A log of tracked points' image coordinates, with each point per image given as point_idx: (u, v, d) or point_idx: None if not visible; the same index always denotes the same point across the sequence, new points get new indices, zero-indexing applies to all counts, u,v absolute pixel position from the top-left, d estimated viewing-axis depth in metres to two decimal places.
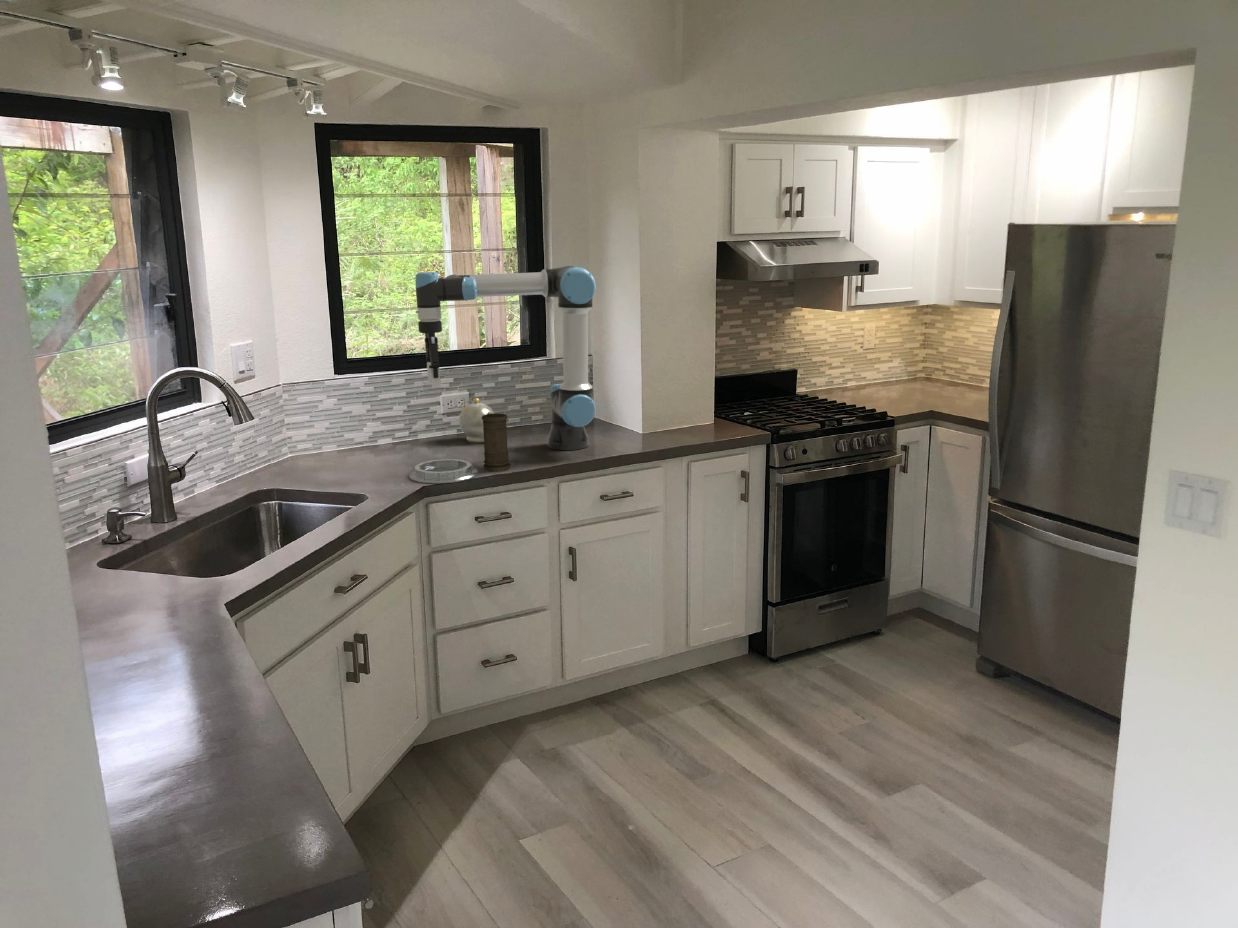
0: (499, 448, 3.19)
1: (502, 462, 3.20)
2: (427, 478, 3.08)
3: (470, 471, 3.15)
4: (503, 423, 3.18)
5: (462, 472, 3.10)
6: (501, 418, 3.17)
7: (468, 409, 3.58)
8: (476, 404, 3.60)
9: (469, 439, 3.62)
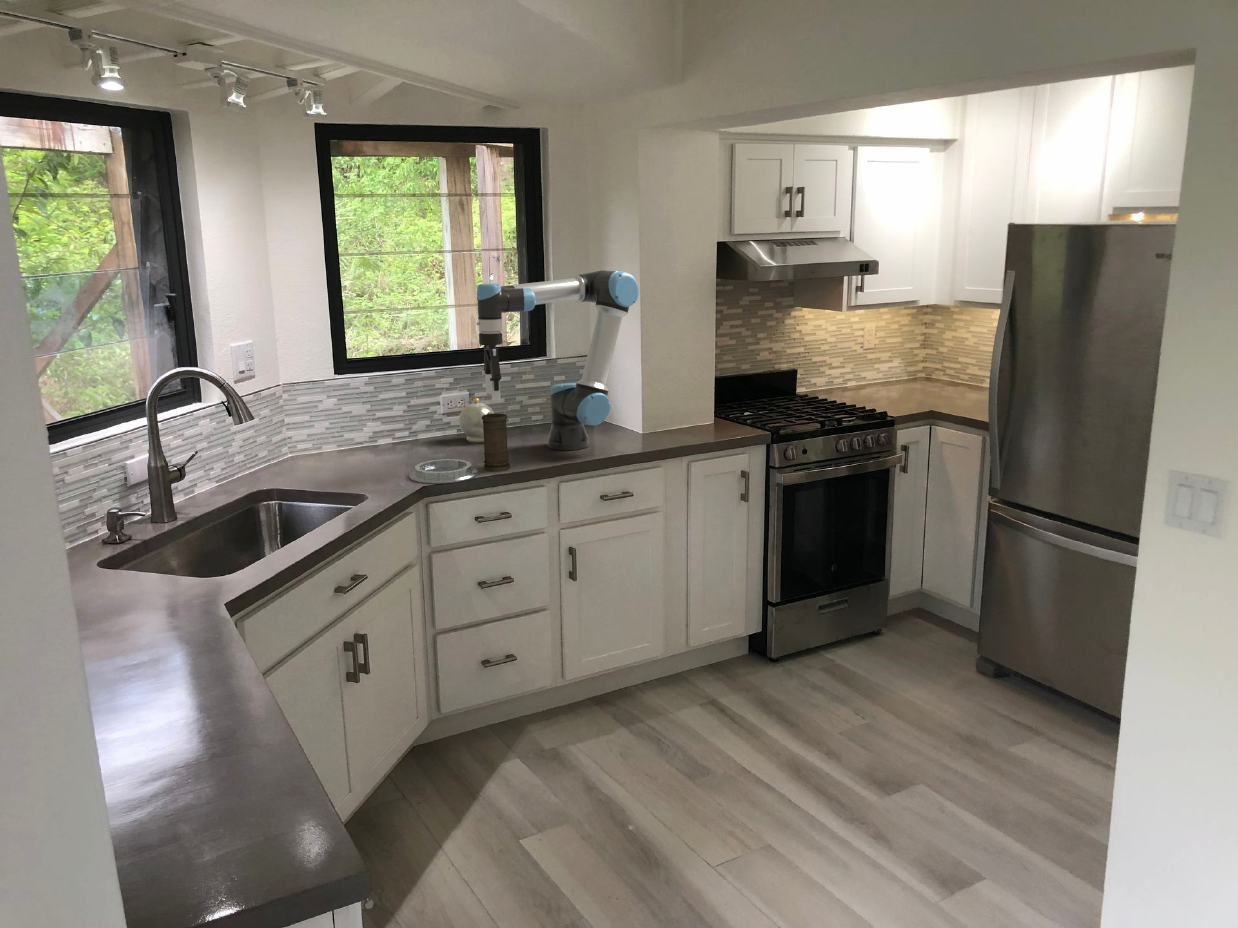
0: (499, 448, 3.19)
1: (502, 462, 3.20)
2: (427, 478, 3.08)
3: (470, 471, 3.15)
4: (503, 423, 3.18)
5: (462, 472, 3.10)
6: (501, 418, 3.17)
7: (468, 409, 3.58)
8: (476, 404, 3.60)
9: (469, 439, 3.62)
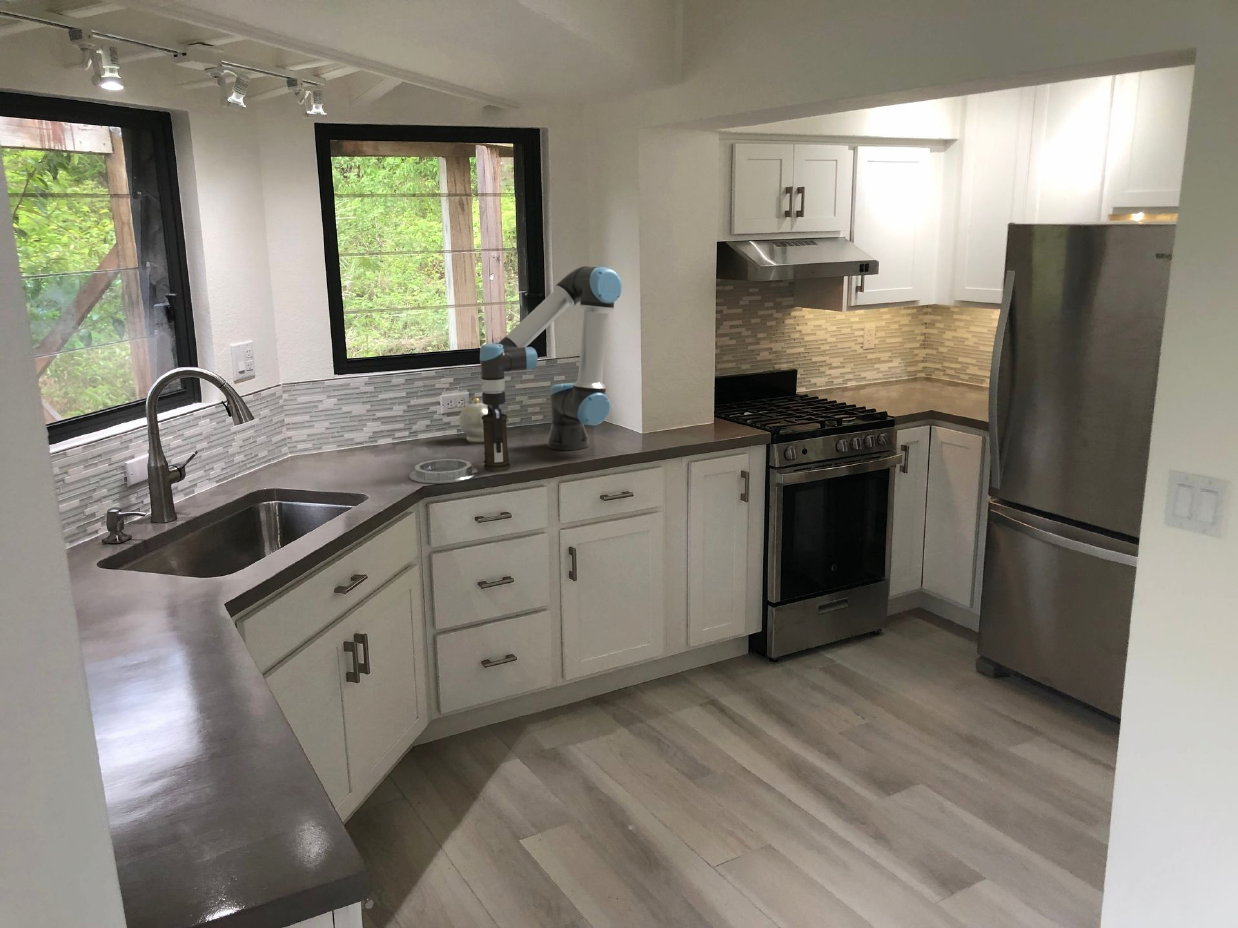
0: None
1: (502, 462, 3.20)
2: (427, 478, 3.08)
3: (470, 471, 3.15)
4: (503, 423, 3.18)
5: (462, 472, 3.10)
6: None
7: (468, 409, 3.58)
8: (476, 404, 3.60)
9: (469, 439, 3.62)
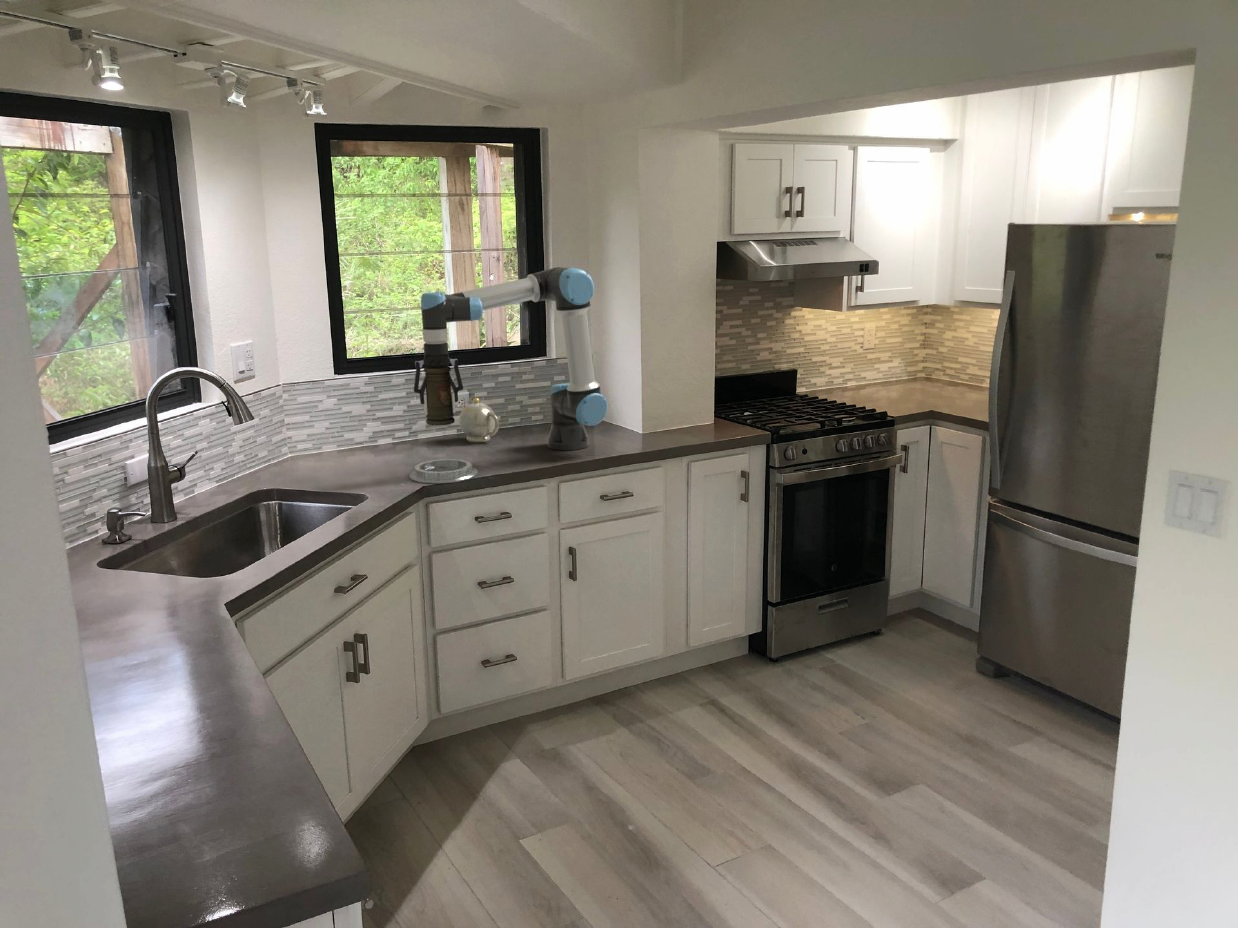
0: None
1: (427, 416, 3.09)
2: (427, 478, 3.08)
3: (470, 471, 3.15)
4: (428, 376, 3.05)
5: (462, 472, 3.10)
6: (425, 370, 3.05)
7: (468, 409, 3.58)
8: (476, 404, 3.60)
9: (469, 439, 3.62)
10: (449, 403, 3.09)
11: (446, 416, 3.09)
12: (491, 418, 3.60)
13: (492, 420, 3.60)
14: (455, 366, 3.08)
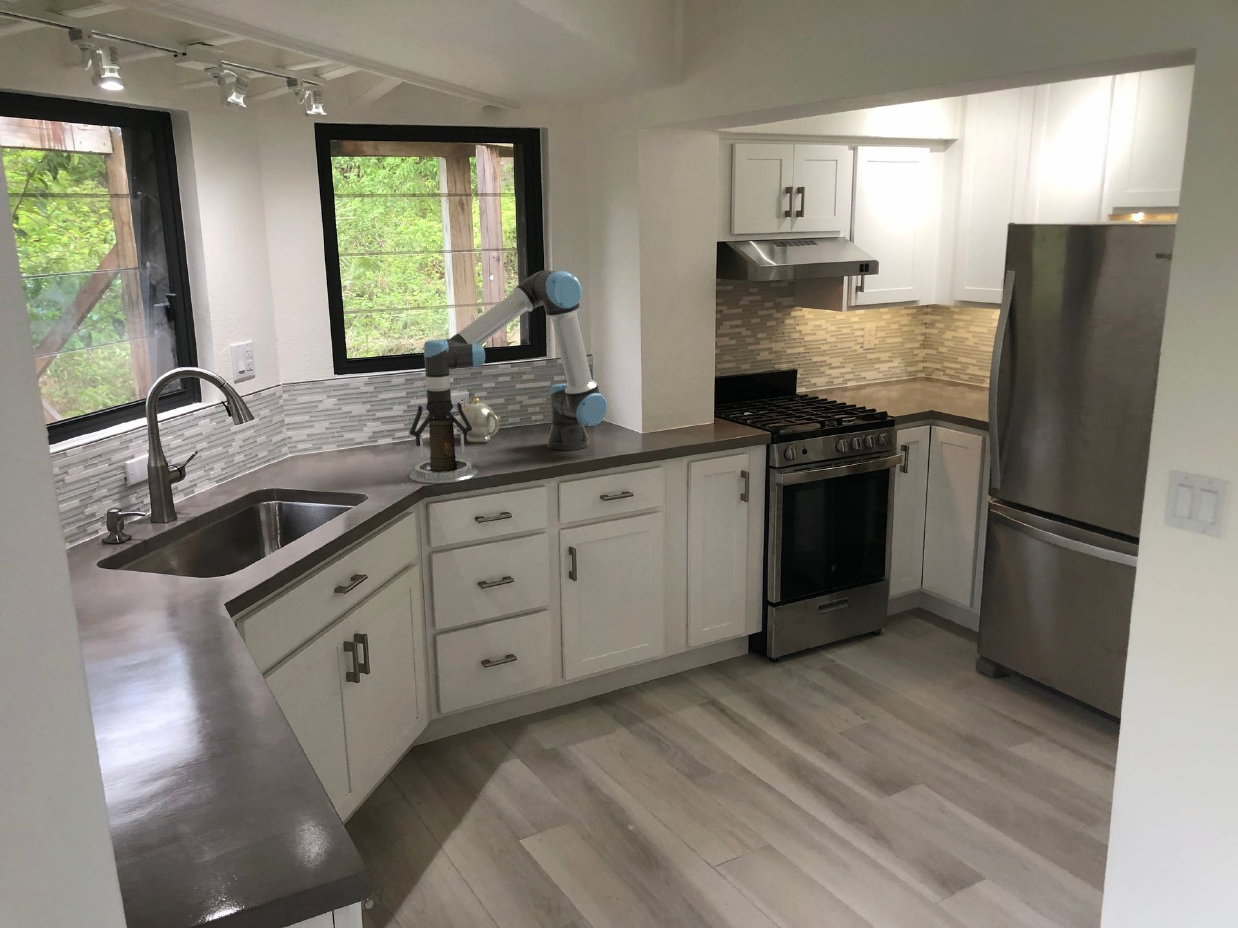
0: (430, 451, 3.13)
1: (431, 466, 3.13)
2: (427, 478, 3.08)
3: (470, 471, 3.15)
4: (432, 428, 3.09)
5: (462, 472, 3.10)
6: (429, 422, 3.09)
7: (468, 409, 3.58)
8: (476, 404, 3.60)
9: (469, 439, 3.62)
10: (452, 454, 3.13)
11: (449, 467, 3.13)
12: (491, 418, 3.59)
13: (492, 420, 3.60)
14: (459, 410, 3.12)
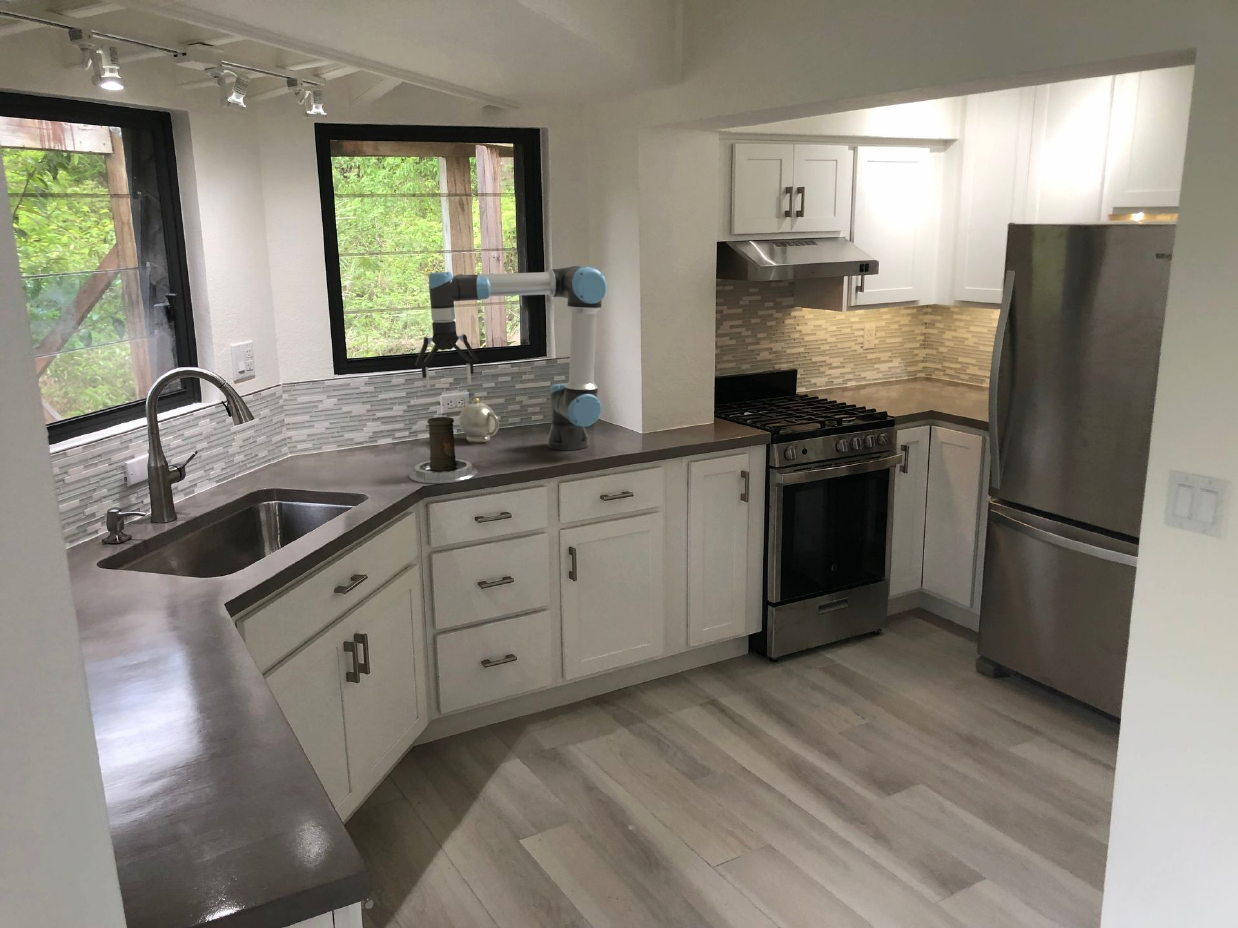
0: (430, 452, 3.13)
1: (430, 466, 3.13)
2: (427, 478, 3.08)
3: (470, 471, 3.15)
4: (432, 428, 3.09)
5: (462, 472, 3.10)
6: (429, 422, 3.09)
7: (468, 410, 3.58)
8: (476, 404, 3.60)
9: (469, 439, 3.62)
10: (452, 454, 3.13)
11: (449, 467, 3.13)
12: (491, 418, 3.60)
13: (492, 420, 3.60)
14: (464, 341, 3.16)
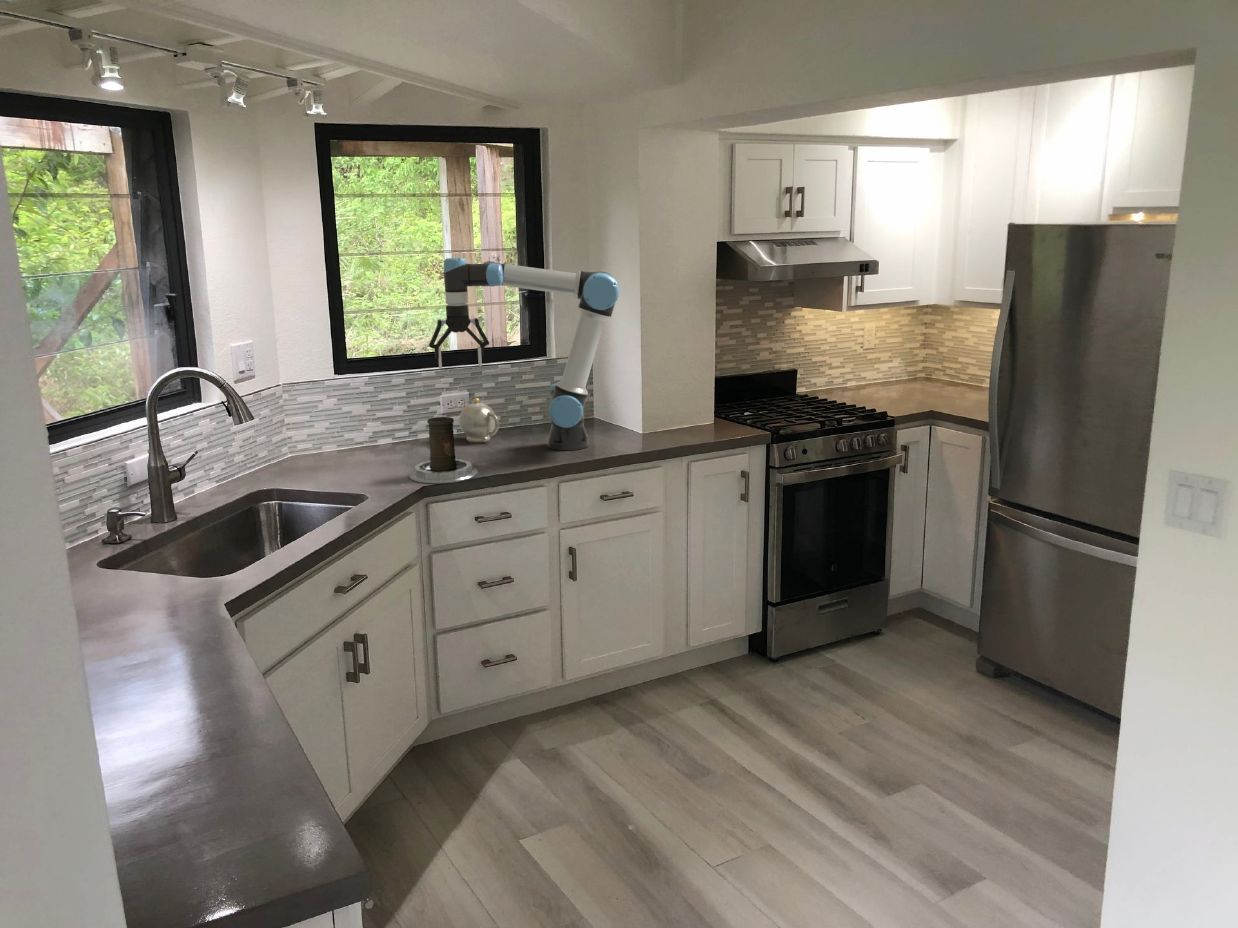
0: (430, 452, 3.13)
1: (430, 466, 3.13)
2: (427, 478, 3.08)
3: (470, 471, 3.15)
4: (432, 428, 3.10)
5: (462, 472, 3.10)
6: (429, 422, 3.10)
7: (468, 409, 3.58)
8: (476, 404, 3.60)
9: (469, 439, 3.62)
10: (452, 454, 3.13)
11: (449, 467, 3.13)
12: (491, 418, 3.60)
13: (492, 420, 3.60)
14: (476, 325, 3.30)
